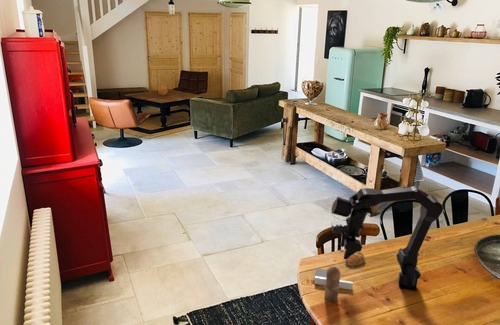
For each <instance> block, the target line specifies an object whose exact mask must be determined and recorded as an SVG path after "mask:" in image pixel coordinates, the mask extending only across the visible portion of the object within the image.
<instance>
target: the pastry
mask: <svg viewBox="0 0 500 325" xmlns="http://www.w3.org/2000/svg"><path fill="white" fill-rule="evenodd" d="M344 260H345V261H344V262H345V264H346V265H347V266H349V267H354V266H355V267H356V266H360V265H362V264H363V263H365V262H366V258H365V255H364V253H363V252H362V251H360V252H356V253H354V254H353V255H351V256H350V257H349V258H348V259H344Z"/></svg>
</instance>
